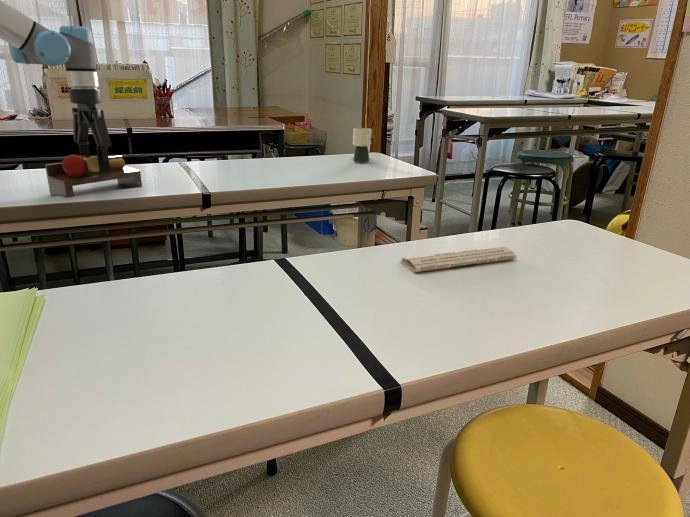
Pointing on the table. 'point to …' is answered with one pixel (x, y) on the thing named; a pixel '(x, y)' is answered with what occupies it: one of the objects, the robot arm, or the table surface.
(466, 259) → the newspaper
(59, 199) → the table surface
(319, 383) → the table surface
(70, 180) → the shelf
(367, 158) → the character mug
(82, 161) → the kendama
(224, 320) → the table surface
